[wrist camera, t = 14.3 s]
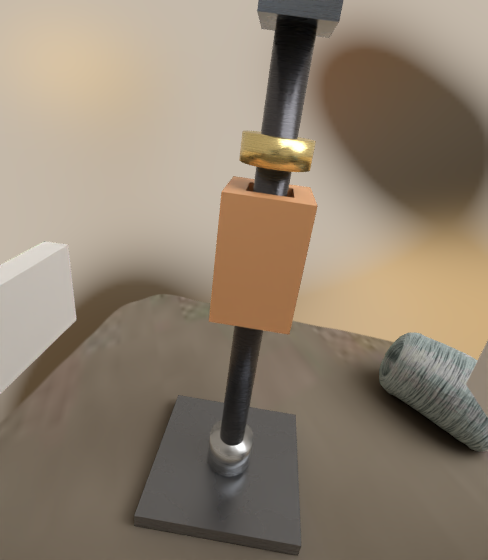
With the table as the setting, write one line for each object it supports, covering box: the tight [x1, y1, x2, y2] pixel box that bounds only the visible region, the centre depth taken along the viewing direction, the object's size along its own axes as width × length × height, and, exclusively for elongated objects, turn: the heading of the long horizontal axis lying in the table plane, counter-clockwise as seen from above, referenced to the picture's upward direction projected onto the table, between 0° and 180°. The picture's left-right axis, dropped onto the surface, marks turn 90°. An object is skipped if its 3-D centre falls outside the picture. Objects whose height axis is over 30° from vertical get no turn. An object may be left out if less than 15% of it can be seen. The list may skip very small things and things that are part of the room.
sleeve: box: [209, 176, 317, 334], centre depth 22 cm, size 5×5×8 cm
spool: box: [379, 333, 488, 452], centre depth 38 cm, size 14×10×10 cm
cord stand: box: [134, 0, 343, 555], centre depth 23 cm, size 12×12×39 cm
